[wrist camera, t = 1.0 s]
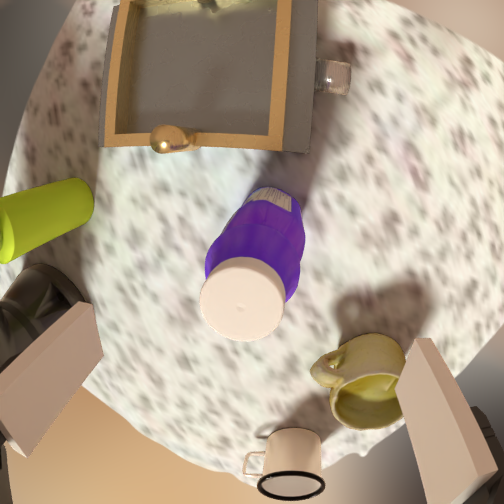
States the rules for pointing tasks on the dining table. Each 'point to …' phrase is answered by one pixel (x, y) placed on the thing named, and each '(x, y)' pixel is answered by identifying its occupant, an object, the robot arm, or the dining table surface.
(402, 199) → the dining table surface
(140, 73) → the grey and tan box
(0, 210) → the soap dispenser
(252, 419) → the dining table surface
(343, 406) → the mug
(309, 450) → the mug
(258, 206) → the bottle
